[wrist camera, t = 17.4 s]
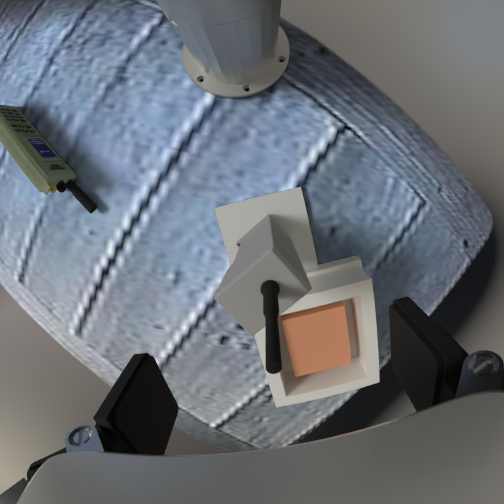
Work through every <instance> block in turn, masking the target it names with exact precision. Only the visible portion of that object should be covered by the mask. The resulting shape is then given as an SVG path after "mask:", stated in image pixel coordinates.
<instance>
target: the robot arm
mask: <svg viewBox="0 0 504 504" xmlns="http://www.w3.org/2000/svg"><path fill="white" fill-rule="evenodd" d="M156 1H157V3H158V4H159V6H160V7H161V9H162V10H163V12H164V13H165V15H166V16H167V18H168V19H169V21H170V23H171V24H172V26H173V27H174V29H175V30H176V32H177V33H178V35H179V36H180V38H181V39H182V41H183V43H184V47H183V55H182V57H183V64H184V67H185V70H186V72H187V74H188V75H189V77H190V78H191V80H192V81H193V82H194V83H195V84H196V85H197V86H198V87H200V88H201V89H202V90H204V91H206V92H208V93H210V94H212V95H216V96H219V97H225V98H243V97H248V96H252V95H255V94H258V93H260V92H262V91H264V90H266V89H268V88H269V87H271V86H272V85H273V84H274V83H275V82H277V81H278V79H279V78H280V77H281V76H282V74H283V73H284V71H285V69H286V67H287V65H288V61H289V55H290V46H289V41H288V38H287V35H286V33H285V32H284V30H283V29H282V27H281V26H280V25H279V20H280V8H281V0H156ZM280 60H282V61H283V62H279V61H280ZM202 79H203V80H204V81H203V82H200V80H202ZM245 89H249V91H248V92H246V91H245ZM389 315H390V336H391V365H392V368H393V370H394V372H395V374H396V376H397V377H398V379H399V381H400V383H401V384H402V386H403V388H404V390H405V391H406V393H407V395H408V397H409V398H410V400H411V402H412V404H413V406H414V407H415V409H416V411H417V412H415V413H412V414H409V415H406V416H403V417H401V418H397V419H395V420H392V421H388V422H385V423H382V424H379V425H376V426H372V427H369V428H366V429H362V430H358V431H355V432H351V433H347V434H343V435H339V436H335V437H331V438H326V439H322V440H317V441H312V442H307V443H302V444H296V445H290V446H284V447H278V448H271V449H264V450H256V451H247V452H236V453H224V454H207V455H164V453H165V450H166V447H167V444H168V441H169V438H170V435H171V431H172V429H173V426H174V423H175V420H176V417H177V414H178V404H177V402H176V400H175V398H174V397H173V395H172V393H171V391H170V389H169V387H168V385H167V383H166V381H165V379H164V377H163V375H162V373H161V371H160V369H159V367H158V365H157V363H156V361H155V359H154V357H153V356H150V355H149V354H148V353H142V354H134V355H133V357H132V358H131V360H130V361H129V363H128V364H127V366H126V367H125V369H124V370H123V372H122V373H121V375H120V376H119V378H118V380H117V381H116V383H115V384H114V386H113V387H112V389H111V391H110V392H109V394H108V395H107V397H106V399H105V400H104V402H103V403H102V405H101V406H100V408H99V410H98V411H97V413H96V414H95V416H94V418H93V419H94V420H95V421H96V425H95V426H94V425H92V424H89V423H83V424H80V425H77V426H75V427H74V428H72V429H71V430H70V431H69V432H68V433H67V435H66V438H65V445H66V447H65V448H64V449H62V450H59V451H57V452H55V453H53V454H51V455H49V456H47V457H45V458H43V459H40V460H38V461H36V462H34V463H32V464H31V465H30V468H29V469H28V472H27V478H28V479H27V480H26V479H25V478H22V479H21V480H20V481H19V482H17V483H16V484H14V485H13V486H12V487H10V488H9V489H8V490H6V491H5V492H4V493H2V494H1V495H0V504H504V363H503V360H502V358H501V357H500V356H499V355H498V354H496V353H495V352H492V351H487V350H481V351H476V352H473V353H472V354H470V355H468V353H466V351H465V350H464V349H463V348H462V347H461V346H460V345H459V344H458V343H457V342H456V341H455V340H454V339H453V338H452V337H451V336H450V335H449V334H448V333H447V332H446V331H445V330H444V329H443V328H442V327H441V326H440V325H439V324H438V323H437V322H434V321H433V320H432V319H431V318H430V317H429V316H428V315H427V314H426V313H425V312H424V311H423V310H422V309H421V308H420V307H418V306H417V305H416V304H415V303H414V302H413V301H412V300H411V299H410V298H409V297H408V296H407V297H403V298H400V299H397V300H394V301H393V305H390V306H389Z"/></svg>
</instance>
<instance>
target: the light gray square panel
mask: <svg viewBox="0 0 504 504" xmlns="http://www.w3.org/2000/svg"><path fill="white" fill-rule="evenodd" d="M215 211H216V214H217V218H218V222H219V225H220V229H221V233H222V236H223V240H224V243H225V247H226V251H227V254H228V258H229V261H230V265H232V264H233V262H234V260H235V257H236V254H237V252H238V249H239V247H238V246H237V245H236V242H237V241H238V240H239V239H241V238H242V237H243V236H244V235H245V234H246V233H247V232H249V231H250V230H251V229H252V228H253V227H254V226H255V225H256V224H258V223H259V222H260V221H261V220H262V219H263V218H264V217H266V216H267V215H268V214H270V215H271V216H272V217H273V218H274V220H275V221H276V222H277V223H278V224H279V225H280V226H281V228H282V229H283V230H284V231H285V232H286V233H287V234H288V235H289V237H290V238H291V240H292V242H293V245H294V247H295V249H296V252H297V254H298V256H299V259H300V261H301V263H302V265H303V268H304V270H305V269H309V268H313V267H317V266H318V263H317V258H316V253H315V248H314V243H313V238H312V234H311V229H310V225H309V220H308V216H307V211H306V207H305V202H304V198H303V194H302V190H301V187H297V188H293V189H289V190H284V191H280V192H276V193H272V194H268V195H264V196H260V197H256V198H252V199H248V200H244V201H240V202H236V203H232V204H228V205H224V206H221V207H217V208H215Z"/></svg>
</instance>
